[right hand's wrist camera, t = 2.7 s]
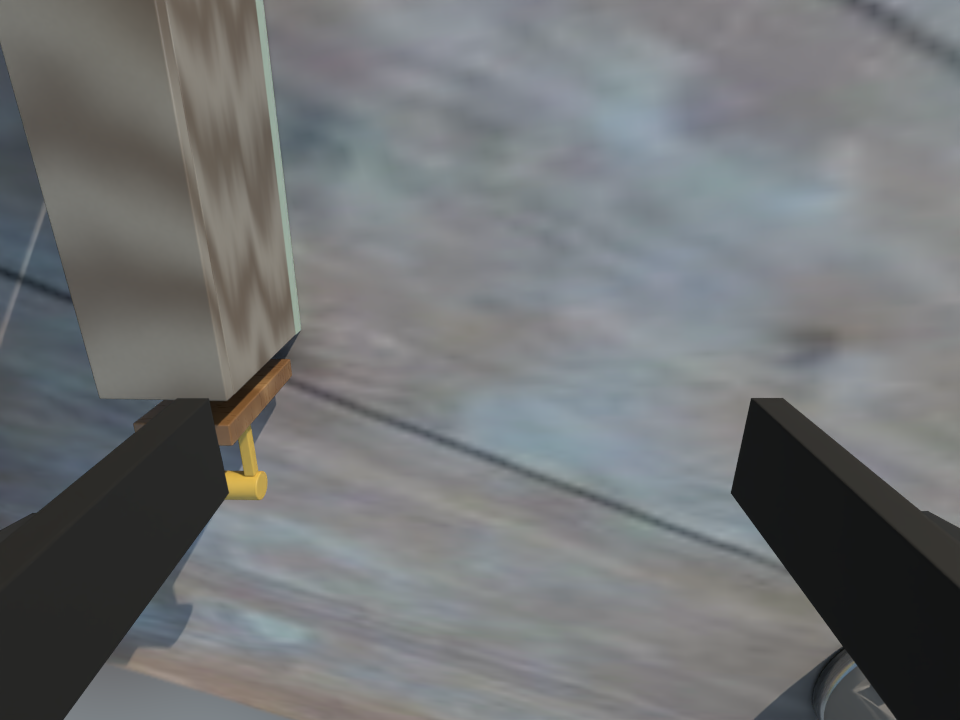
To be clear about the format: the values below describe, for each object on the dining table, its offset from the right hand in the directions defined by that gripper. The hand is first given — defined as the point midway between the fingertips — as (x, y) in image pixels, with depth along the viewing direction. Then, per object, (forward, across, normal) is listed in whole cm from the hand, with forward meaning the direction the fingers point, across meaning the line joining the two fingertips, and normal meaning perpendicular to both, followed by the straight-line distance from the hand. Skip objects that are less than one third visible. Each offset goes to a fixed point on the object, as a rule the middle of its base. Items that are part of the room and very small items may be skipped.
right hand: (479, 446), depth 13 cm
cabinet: (+21, +14, -6) cm, 26 cm away
